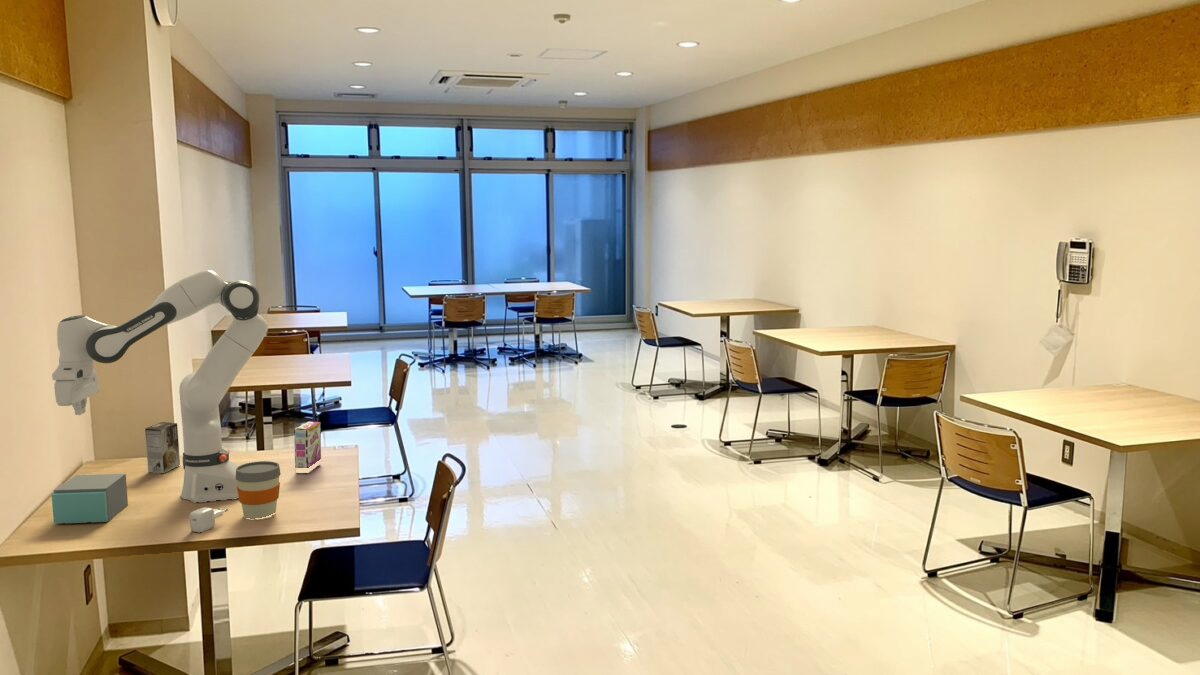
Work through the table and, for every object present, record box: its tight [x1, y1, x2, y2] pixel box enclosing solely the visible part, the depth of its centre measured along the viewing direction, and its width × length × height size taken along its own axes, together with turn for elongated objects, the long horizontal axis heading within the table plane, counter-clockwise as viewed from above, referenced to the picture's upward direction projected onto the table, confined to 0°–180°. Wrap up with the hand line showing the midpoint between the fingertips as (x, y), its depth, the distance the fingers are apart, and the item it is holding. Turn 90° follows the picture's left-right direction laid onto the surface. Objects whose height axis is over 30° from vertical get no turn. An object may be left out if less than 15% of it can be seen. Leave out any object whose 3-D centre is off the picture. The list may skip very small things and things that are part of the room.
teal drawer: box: [51, 491, 108, 525], centre depth 244 cm, size 14×14×9 cm
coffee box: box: [144, 421, 181, 474], centre depth 289 cm, size 9×6×16 cm
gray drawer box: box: [53, 473, 129, 523], centre depth 245 cm, size 14×14×10 cm
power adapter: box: [189, 506, 229, 533], centre depth 238 cm, size 11×5×6 cm, turn 160°
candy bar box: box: [294, 421, 322, 469], centre depth 291 cm, size 11×5×16 cm, turn 174°
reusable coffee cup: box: [236, 460, 281, 519], centre depth 247 cm, size 13×12×15 cm
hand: (80, 414), depth 249 cm, fingers closed
